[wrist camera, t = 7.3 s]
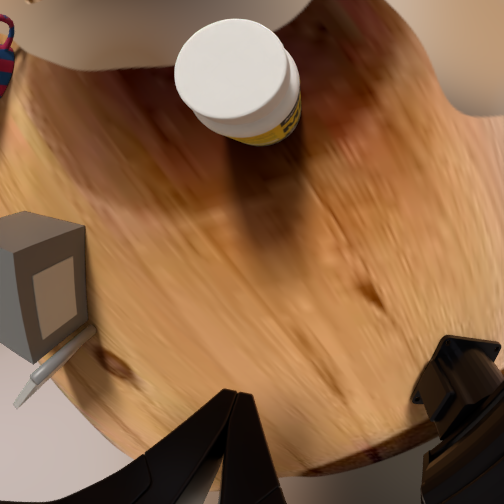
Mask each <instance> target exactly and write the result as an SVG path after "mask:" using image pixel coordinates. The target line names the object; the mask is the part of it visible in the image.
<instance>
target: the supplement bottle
mask: <svg viewBox="0 0 504 504" xmlns="http://www.w3.org/2000/svg"><path fill="white" fill-rule="evenodd" d="M175 84H176V88H177V91H178V93H179V95H180V97H181V98H182V100H183V101H184V102H185V103H186V104H187V106H188V107H189V108H191V109H192V110H193V111H194V113H195V115H196V116H197V118H198V119H199V120H200V121H201V122H202V123H203V124H204V125H205V126H207V127H208V128H209V129H211V130H212V131H214V132H216V133H218V134H221V135H224V136H226V137H229V138H232V139H234V140H237V141H240V142H242V143H245V144H248V145H252V146H268V145H272V144H275V143H278V142H280V141H282V140H283V139H285V138H286V137H287V136H289V135H290V134H291V133H292V131H293V130H294V129H295V127H296V126H297V124H298V121H299V119H300V115H301V94H300V78H299V73H298V70H297V67H296V64H295V62H294V60H293V59H292V57H291V56H290V54H289V53H288V52H287V51H286V50H285V49H284V47H283V45H282V43H281V42H280V40H279V39H278V37H277V36H276V35H275V34H274V33H273V32H272V31H271V30H269V29H268V28H266V27H265V26H263V25H261V24H259V23H256V22H254V21H250V20H244V19H227V20H222V21H218V22H215V23H212V24H210V25H208V26H206V27H204V28H202V29H200V30H199V31H198V32H196V33H195V34H194V35H193V36H192V37H191V38H190V39H189V40H188V41H187V42H186V43H185V45H184V46H183V48H182V49H181V51H180V53H179V55H178V58H177V61H176V64H175Z"/></svg>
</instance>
